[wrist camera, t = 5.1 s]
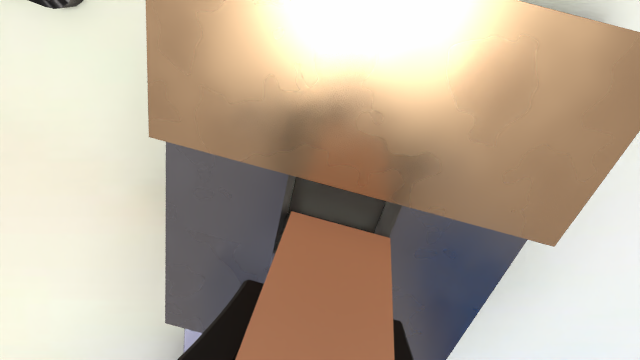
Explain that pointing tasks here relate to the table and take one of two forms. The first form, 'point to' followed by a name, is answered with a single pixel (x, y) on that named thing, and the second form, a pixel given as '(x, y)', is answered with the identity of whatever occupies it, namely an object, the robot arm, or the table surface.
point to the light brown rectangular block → (324, 296)
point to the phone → (57, 3)
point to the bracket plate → (382, 138)
